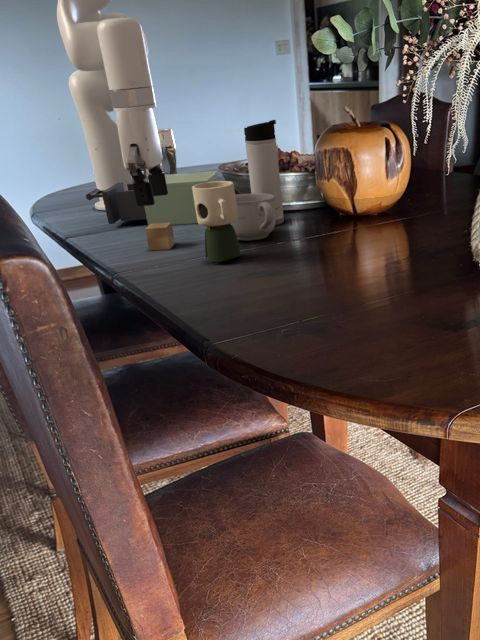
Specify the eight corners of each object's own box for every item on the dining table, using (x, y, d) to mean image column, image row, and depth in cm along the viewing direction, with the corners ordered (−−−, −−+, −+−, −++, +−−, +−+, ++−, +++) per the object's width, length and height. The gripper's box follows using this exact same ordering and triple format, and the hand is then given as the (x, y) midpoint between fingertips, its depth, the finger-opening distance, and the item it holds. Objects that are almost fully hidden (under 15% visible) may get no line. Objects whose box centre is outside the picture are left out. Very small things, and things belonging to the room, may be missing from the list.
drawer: (87, 225, 146) (79, 193, 143) (104, 214, 156) (97, 184, 153) (167, 220, 145) (161, 188, 141) (179, 209, 155) (174, 178, 151)
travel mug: (281, 226, 136) (271, 121, 125) (251, 227, 137) (238, 123, 127) (288, 219, 141) (279, 118, 131) (259, 220, 142) (248, 120, 132)
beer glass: (179, 187, 187) (169, 130, 179) (155, 188, 187) (145, 132, 180) (184, 182, 193) (174, 128, 185) (161, 184, 193) (150, 130, 186)
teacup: (218, 236, 132) (212, 195, 128) (268, 227, 135) (264, 188, 131) (238, 251, 121) (232, 207, 117) (292, 241, 124) (288, 198, 120)
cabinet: (148, 226, 145) (139, 185, 141) (162, 213, 156) (155, 175, 152) (213, 222, 144) (206, 180, 139) (223, 209, 155) (217, 170, 150)
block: (149, 250, 126) (144, 228, 124) (154, 244, 130) (150, 223, 128) (170, 249, 126) (166, 227, 124) (175, 243, 130) (171, 222, 127)
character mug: (197, 256, 120) (184, 183, 113) (233, 250, 122) (223, 177, 115) (213, 271, 111) (200, 192, 104) (252, 263, 113) (242, 185, 107)
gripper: (127, 99, 122) (146, 193, 131) (96, 105, 108) (120, 211, 116) (166, 95, 122) (183, 190, 130) (140, 101, 107) (160, 208, 115)
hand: (153, 200), depth 123 cm, fingers open, 9 cm apart
